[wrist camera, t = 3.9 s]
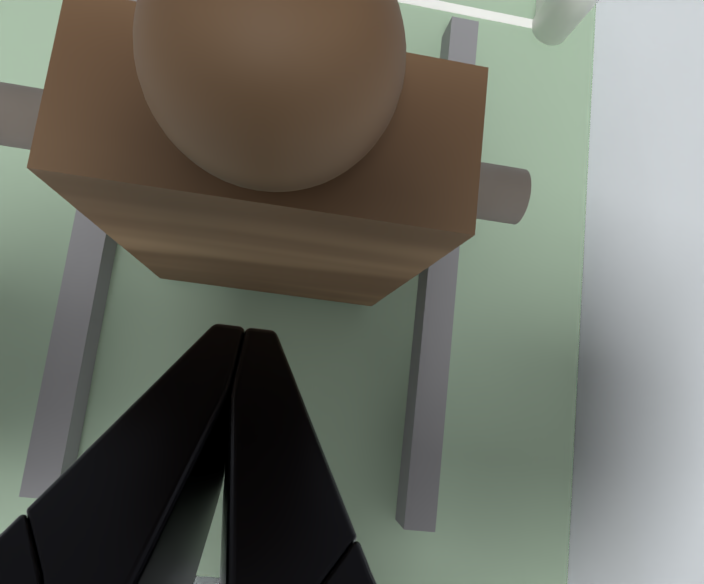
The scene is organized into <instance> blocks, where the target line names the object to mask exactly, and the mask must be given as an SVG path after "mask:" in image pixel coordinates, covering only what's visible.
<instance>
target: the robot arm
mask: <svg viewBox="0 0 704 584" xmlns="http://www.w3.org/2000/svg"><path fill="white" fill-rule="evenodd" d="M224 474H225V475H224ZM223 479H224V490H223V505H222V530H221V555H220V579H219V584H377V583H376V581H375V579H374V576H373V574H372V572H371V569H370V567H369V564H368V562H367V559H366V557H365V554H364V552H363V549H362V546H361V544H360V543H359V542H358V541H356V539H357V535H356V532H355V530H354V527H353V525H352V522H351V520H350V517H349V515H348V512H347V509H346V507H345V504H344V502H343V499H342V497H341V494H340V492H339V489H338V487H337V484H336V482H335V479H334V477H333V474H332V472H331V469H330V467H329V464H328V461H327V459H326V456H325V454H324V451H323V449H322V446H321V444H320V441H319V439H318V436H317V434H316V431H315V429H314V426H313V424H312V421H311V419H310V416H309V413H308V411H307V408H306V406H305V403H304V401H303V398H302V396H301V393H300V391H299V388H298V386H297V383H296V381H295V378H294V376H293V373H292V371H291V368H290V366H289V363H288V360H287V358H286V355H285V353H284V350H283V348H282V345H281V343H280V340H279V338H278V335H277V334H276V332H274V331H273V330H266V329H258V328H248V329H246V331H244V329H243V328H242V327H240V326H234V325H225V324H215V325H213V326H211V327H210V328H209V329H208V330H207V331H206V332H205V333H204V334H203V335H202V336H201V337H200V338H199V339H198V340H197V341H196V342H195V343H194V344H193V345H192V346H191V347H190V348H189V349H188V350H187V351H186V352H185V353H184V354H183V355H182V356H181V357H180V358H179V359H178V360H177V361H176V362H175V363H174V364H173V365H172V366H171V367H170V368H169V369H168V370H167V371H166V372H165V373H164V374H163V375H162V376H161V377H160V378H159V379H158V380H157V381H156V382H155V383H154V384H153V385H152V386H151V387H150V388H149V389H148V390H147V391H146V392H145V393H143V394H142V395H141V396H140V397H139V398H138V399H137V400H136V401H135V402H134V403H133V404H132V405H131V406H130V407H129V408H128V409H127V410H126V411H125V412H124V413H123V414H122V415H121V416H120V417H119V418H118V419H117V420H116V421H115V422H114V423H113V424H112V425H111V426H110V427H109V428H108V429H107V430H106V431H105V432H104V433H103V434H102V435H101V436H100V437H99V438H98V439H97V440H96V441H95V442H94V443H93V444H92V445H91V446H90V447H89V448H88V449H87V450H86V451H85V452H84V453H83V454H82V455H81V456H80V457H79V458H78V459H77V460H76V461H75V462H74V463H73V464H72V465H71V466H70V467H69V468H68V469H67V470H66V471H65V472H63V473H62V474H61V475H60V476H59V477H58V478H57V479H56V480H55V481H54V482H53V483H52V484H51V485H50V486H49V487H48V488H47V489H46V490H45V491H44V492H43V493H42V494H41V495H40V496H39V497H38V498H37V499H36V500H35V501H34V502H33V503H32V504H31V505H30V506H29V507H28V508H27V510H26V513H27V516H26V515H24V514H22V515H20V516H18V517H17V518H16V519H15V520H14V521H13V522H12V523H11V524H10V525H9V526H8V527H7V528H6V529H5V530H4V531H3V532H2V533H1V534H0V584H193V583H194V580H195V577H196V573H197V570H198V567H199V563H200V560H201V557H202V553H203V550H204V547H205V543H206V540H207V537H208V533H209V530H210V527H211V523H212V520H213V517H214V513H215V510H216V507H217V503H218V500H219V496H220V492H221V488H222V484H223Z"/></svg>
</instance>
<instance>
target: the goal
mask: <svg viewBox="0 0 704 584" xmlns="http://www.w3.org/2000/svg"><path fill="white" fill-rule="evenodd" d="M397 1H398V2H400V3H405V4H410V5H415V6H420V7H425V8H430V9H435V10H440V11H445V12H450V13H455V14H460V15H465V16H470V17H475V18H480V19H486V20H491V21H496V22H501V23H506V24H511V25H516V26H521V27H526V28H531V29H532V31H533V33H534V35H535V37H536V38H537V39H538V40H539V41H540V42H542V43H544V44H546V45H550V46H554V45H558V44H560V43H562V42H563V41H564V40H565V39H566V38H567V37H568V35H569V34H570V33H571V32H572V31H573V30H574V29H575V27H576V26H577V25H578V24H579V23H580V22H581V20H582V19H583V18H584V17H585V16H586V15H587V14H588V12H589V11H590V10H591V9H592V8H593V7H594V6H595V4H596V3H597V2H598V1H599V0H536V13H535V16H534V18H533V19H529V18H524V17H519V16H514V15H509V14H504V13H499V12H494V11H489V10H484V9H479V8H474V7H469V6H464V5H459V4H454V3H449V2H444V1H439V0H397Z"/></svg>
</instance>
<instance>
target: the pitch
mask: <svg viewBox="0 0 704 584" xmlns="http://www.w3.org/2000/svg"><path fill="white" fill-rule="evenodd" d="M131 1H137V0H131ZM439 1H444V2H449V3H454V4H459V5H464V6H469V7H474V8H479V9H484V10H489V11H494V12H499V13H504V14H509V15H514V16H519V17H524V18H529V19H533V18H534V16H535V13H536V0H439ZM62 2H63V0H0V82H5V83H11V84H17V85H23V86H29V87H35V88H41V89H44V85H45V80H46V76H47V71H48V66H49V62H50V57H51V52H52V48H53V43H54V39H55V34H56V29H57V25H58V20H59V15H60V11H61V6H62ZM398 3H399V6H400V10H401V15H402V19H403V24H404V29H405V38H406V52H409V53H414V54H419V55H425V56H430V57H435V58H441V59H446V60H451V61H457V62H462V63H467V64H473V65H478V66H483V67H489V69H488V82H487V94H486V106H485V118H484V131H483V143H482V155H481V162H485V163H491V164H497V165H503V166H509V167H515V168H521V169H526V170H528V171H529V173H530V176H531V195H530V200H529V204H528V207H527V209H526V212H525V214H524V216H523V218H522V219H521V220H520V221H519V222H518V223H517V224H508V223H501V222H495V221H488V220H482V219H476V229H475V235H474V236H473V237H472V238H470V239H469V240H467V241H466V242H464V243H463V244H461V245H460V246H458V247H457V248H456V249H454V250H453V251H451V252H450V253H448V254H447V255H445V256H444V257H443V258H441V259H440V260H438V261H437V262H435V263H434V264H432V265H431V266H429V267H428V268H427V269H425V270H424V271H422V272H421V273H419V274H418V275H416V276H415V277H413V278H412V279H411V280H409V281H408V282H406V283H405V284H403V285H402V286H400V287H399V288H397V289H396V290H395V291H393V292H392V293H390V294H389V295H387V296H386V297H384V298H383V299H381V300H380V301H379V302H377V303H376V304H374V305H373V306H365V305H358V304H350V303H343V302H335V301H327V300H320V299H312V298H305V297H297V296H290V295H282V294H274V293H267V292H259V291H252V290H244V289H237V288H229V287H221V286H214V285H206V284H199V283H191V282H184V281H176V280H168V279H161V278H159V277H158V276H157V275H155V274H154V273H153V272H152V271H151V270H149V269H148V268H147V267H146V266H145V265H143V264H142V263H141V262H140V261H139V260H137V259H136V258H135V257H134V256H133V255H131V254H130V253H129V252H128V251H127V250H125V249H124V248H123V247H122V246H120V245H119V244H118V243H117V242H116V241H114V240H113V239H112V238H111V237H110V236H108V235H107V234H106V233H105V232H104V231H102V230H101V229H100V228H99V227H98V226H96V225H95V224H94V223H93V222H92V221H90V220H89V219H88V218H87V217H85V216H84V215H83V214H82V213H81V212H79V211H78V210H77V209H76V208H75V207H73V206H72V205H71V204H70V203H69V202H67V201H66V200H65V199H64V198H63V197H61V196H60V195H59V194H58V193H57V192H55V191H54V190H53V189H52V188H51V187H49V186H48V185H47V184H46V183H44V182H43V181H42V180H41V179H40V178H38V177H37V176H36V175H35V174H34V173H32V172H31V171H30V170H29V169H28V168H27V163H28V159H29V154H30V150H28V149H21V148H15V147H8V146H2V145H0V534H1V533H2V532H3V531H4V530H5V529H6V528H7V527H8V526H9V525H10V524H11V523H12V522H13V521H14V520H15V519H16V518H17V517H18V516H20V515H22V514H24V515H26V516H27V513H26V510H27V508H28V507H29V506H30V505H31V504H32V503H33V502H34V501H35V500H36V499H37V498H38V497H39V496H40V495H41V494H42V493H43V492H44V491H45V490H46V489H47V488H48V487H49V486H50V485H51V484H52V483H53V482H54V481H55V480H56V479H57V478H58V477H59V476H60V475H61V474H62V473H63V472H65V471H66V470H67V469H68V468H69V467H70V466H71V465H72V464H73V463H74V462H75V461H76V460H77V459H78V458H79V457H80V456H81V455H82V454H83V453H84V452H85V451H86V450H87V449H88V448H89V447H90V446H91V445H92V444H93V443H94V442H95V441H96V440H97V439H98V438H99V437H100V436H101V435H102V434H103V433H104V432H105V431H106V430H107V429H108V428H109V427H110V426H111V425H112V424H113V423H114V422H115V421H116V420H117V419H118V418H119V417H120V416H121V415H122V414H123V413H124V412H125V411H126V410H127V409H128V408H129V407H130V406H131V405H132V404H133V403H134V402H135V401H136V400H137V399H138V398H139V397H140V396H141V395H142V394H143V393H145V392H146V391H147V390H148V389H149V388H150V387H151V386H152V385H153V384H154V383H155V382H156V381H157V380H158V379H159V378H160V377H161V376H162V375H163V374H164V373H165V372H166V371H167V370H168V369H169V368H170V367H171V366H172V365H173V364H174V363H175V362H176V361H177V360H178V359H179V358H180V357H181V356H182V355H183V354H184V353H185V352H186V351H187V350H188V349H189V348H190V347H191V346H192V345H193V344H194V343H195V342H196V341H197V340H198V339H199V338H200V337H201V336H202V335H203V334H204V333H205V332H206V331H207V330H208V329H209V328H210V327H211V326H213V325H215V324H225V325H234V326H240V327H242V328H243V329H244V331H246V329H248V328H258V329H266V330H273V331H274V332H276V334H277V335H278V338H279V340H280V343H281V345H282V348H283V350H284V353H285V355H286V358H287V360H288V363H289V366H290V368H291V371H292V373H293V376H294V378H295V381H296V383H297V386H298V388H299V391H300V393H301V396H302V398H303V401H304V403H305V406H306V408H307V411H308V413H309V416H310V419H311V421H312V424H313V426H314V429H315V431H316V434H317V436H318V439H319V441H320V444H321V446H322V449H323V451H324V454H325V456H326V459H327V461H328V464H329V467H330V469H331V472H332V474H333V477H334V479H335V482H336V484H337V487H338V489H339V492H340V494H341V497H342V499H343V502H344V504H345V507H346V509H347V512H348V515H349V517H350V520H351V522H352V525H353V527H354V530H355V532H356V535H357V539H356V541H358V542H359V543H360V544H361V546H362V549H363V552H364V554H365V557H366V559H367V562H368V564H369V567H370V569H371V572H372V574H373V576H374V579H375V581H376V583H377V584H567V577H568V557H569V537H570V517H571V497H572V476H573V456H574V436H575V416H576V396H577V375H578V355H579V335H580V315H581V295H582V275H583V254H584V234H585V214H586V194H587V174H588V153H589V133H590V113H591V93H592V73H593V52H594V32H595V12H596V4H595V6H594V7H593V8H592V9H591V10H590V11H589V12H588V14H587V15H586V16H585V17H584V18H583V19H582V20H581V22H580V23H579V24H578V25H577V26H576V27H575V29H574V30H573V31H572V32H571V33H570V34H569V35H568V37H567V38H566V39H565V40H564V41H563V42H562V43H560V44H558V45H554V46H550V45H546V44H544V43H542V42H540V41H539V40H538V39H537V38H536V37H535V35H534V33H533V31H532V29H531V28H526V27H521V26H516V25H511V24H506V23H501V22H496V21H491V20H486V19H480V18H475V17H470V16H465V15H460V14H455V13H450V12H445V11H440V10H435V9H430V8H425V7H420V6H415V5H410V4H405V3H400V2H398ZM224 475H225V474H224ZM223 490H224V479H223V484H222V488H221V492H220V496H219V500H218V503H217V507H216V510H215V513H214V517H213V520H212V523H211V527H210V530H209V533H208V537H207V540H206V543H205V547H204V550H203V553H202V557H201V560H200V563H199V567H198V570H197V573H196V576H202V577H216V578H220V555H221V530H222V505H223Z"/></svg>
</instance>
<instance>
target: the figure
mask: <svg viewBox="0 0 704 584" xmlns="http://www.w3.org/2000/svg"><path fill="white" fill-rule="evenodd" d="M488 69H489V67H483V66H478V65H473V64H467V63H462V62H457V61H451V60H446V59H441V58H435V57H430V56H425V55H419V54H414V53H409V52H406V38H405V29H404V24H403V19H402V15H401V10H400V6H399V3H398V1H397V0H137V1H131V0H63V2H62V6H61V11H60V15H59V20H58V25H57V29H56V34H55V39H54V43H53V48H52V52H51V57H50V62H49V66H48V71H47V76H46V80H45V85H44V89H41V88H35V87H29V86H23V85H17V84H11V83H5V82H0V145H2V146H8V147H15V148H21V149H28V150H30V154H29V159H28V163H27V168H28V169H29V170H30V171H31V172H32V173H34V174H35V175H36V176H37V177H38V178H40V179H41V180H42V181H43V182H44V183H46V184H47V185H48V186H49V187H51V188H52V189H53V190H54V191H55V192H57V193H58V194H59V195H60V196H61V197H63V198H64V199H65V200H66V201H67V202H69V203H70V204H71V205H72V206H73V207H75V208H76V209H77V210H78V211H79V212H81V213H82V214H83V215H84V216H85V217H87V218H88V219H89V220H90V221H92V222H93V223H94V224H95V225H96V226H98V227H99V228H100V229H101V230H102V231H104V232H105V233H106V234H107V235H108V236H110V237H111V238H112V239H113V240H114V241H116V242H117V243H118V244H119V245H120V246H122V247H123V248H124V249H125V250H127V251H128V252H129V253H130V254H131V255H133V256H134V257H135V258H136V259H137V260H139V261H140V262H141V263H142V264H143V265H145V266H146V267H147V268H148V269H149V270H151V271H152V272H153V273H154V274H155V275H157V276H158V277H159V278H161V279H168V280H176V281H184V282H191V283H199V284H206V285H214V286H221V287H229V288H237V289H244V290H252V291H259V292H267V293H274V294H282V295H290V296H297V297H305V298H312V299H320V300H327V301H335V302H343V303H350V304H358V305H365V306H373V305H374V304H376V303H377V302H379V301H380V300H381V299H383V298H384V297H386V296H387V295H389V294H390V293H392V292H393V291H395V290H396V289H397V288H399V287H400V286H402V285H403V284H405V283H406V282H408V281H409V280H411V279H412V278H413V277H415V276H416V275H418V274H419V273H421V272H422V271H424V270H425V269H427V268H428V267H429V266H431V265H432V264H434V263H435V262H437V261H438V260H440V259H441V258H443V257H444V256H445V255H447V254H448V253H450V252H451V251H453V250H454V249H456V248H457V247H458V246H460V245H461V244H463V243H464V242H466V241H467V240H469V239H470V238H472V237H473V236H474V235H475V229H476V219H482V220H488V221H495V222H501V223H508V224H517V223H518V222H519V221H520V220H521V219H522V218H523V216H524V214H525V212H526V209H527V207H528V204H529V200H530V195H531V176H530V173H529V171H528V170H526V169H521V168H515V167H509V166H503V165H497V164H491V163H485V162H481V155H482V143H483V131H484V118H485V106H486V94H487V82H488Z"/></svg>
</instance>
